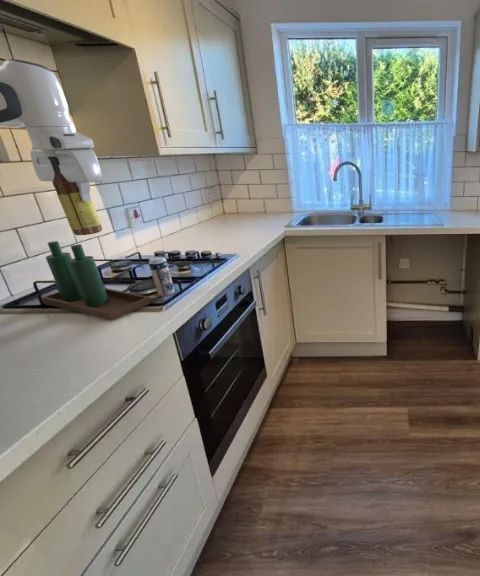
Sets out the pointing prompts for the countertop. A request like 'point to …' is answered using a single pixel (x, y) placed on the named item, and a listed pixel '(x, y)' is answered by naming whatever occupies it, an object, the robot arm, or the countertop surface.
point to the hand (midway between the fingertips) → (76, 200)
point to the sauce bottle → (75, 204)
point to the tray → (109, 310)
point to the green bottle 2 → (87, 278)
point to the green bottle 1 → (63, 273)
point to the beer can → (161, 276)
